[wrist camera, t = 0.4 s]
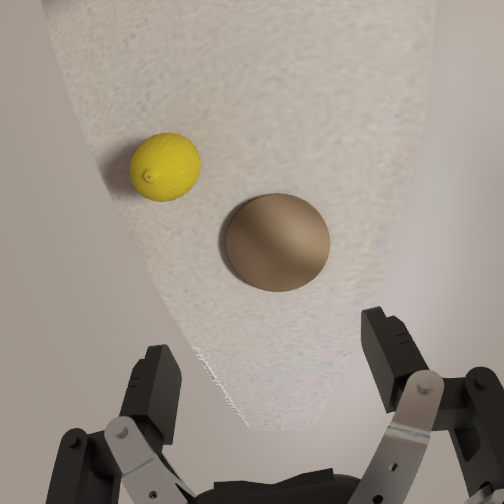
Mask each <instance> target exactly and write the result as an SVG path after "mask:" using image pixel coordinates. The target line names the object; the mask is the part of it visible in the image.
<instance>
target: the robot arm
mask: <svg viewBox="0 0 504 504" xmlns="http://www.w3.org/2000/svg"><path fill="white" fill-rule="evenodd" d="M361 343H362V348H363V351H364V354H365V356H366V359H367V361H368V364H369V367H370V369H371V372H372V374H373V377H374V380H375V383H376V385H377V388H378V390H379V393H380V396H381V399H382V402H383V404H384V407H385V410H386V413H390V412H394V411H395V414H394V416H393V419H392V421H391V423H390V425H389V427H388V428H387V429H386V432H385V433H384V436H383V438H382V440H381V442H380V444H379V446H378V448H377V450H376V452H375V454H374V456H373V458H372V460H371V462H370V464H369V466H368V468H367V470H366V472H365V474H364V475H363V477H362V479H359V478H356V477H353V476H349V475H341V474H333V469H332V468H329V469H325V470H319V471H314V472H309V473H303V474H300V475H297V476H295V477H292V478H290V479H287V480H284V481H281V482H279V483H276V484H263V483H255V482H248V481H227V482H214V489H211V490H208V491H205V492H203V493H201V494H199V495H198V496H196V495H195V494H194V492H193V491H191V489H190V488H189V487H188V486H187V485H186V484H185V483H184V481H183V480H182V479H181V477H180V476H179V475H178V473H177V472H176V471H175V469H174V468H173V466H172V465H171V464H170V462H169V461H168V459H167V458H166V456H165V455H164V454H163V452H162V448H163V445H172V443H173V436H174V429H175V421H176V415H177V408H178V401H179V395H180V388H181V381H182V377H181V371H180V368H179V366H178V364H177V362H176V361H175V358H174V357H173V355H172V353H171V351H170V349H169V347H168V346H167V345H165V344H164V345H156V346H149V347H148V349H147V352H146V355H145V359H140V360H139V361H138V362H137V364H136V365H135V366H134V368H133V370H132V373H131V376H130V380H129V383H128V388H127V390H126V394H125V397H124V401H123V404H122V407H121V411H120V415H119V417H117V418H115V419H113V420H111V421H110V422H109V424H108V425H107V426H106V428H105V430H103V431H100V432H96V433H92V434H87V433H86V432H85V431H83V430H82V429H80V428H74V429H71V430H69V431H67V432H66V433H65V435H64V436H63V437H62V439H61V443H60V446H59V450H58V453H57V457H56V461H55V465H54V469H53V473H52V477H51V482H50V486H49V490H48V495H47V500H46V504H118V499H119V491H120V483H121V480H122V483H123V484H124V486H125V488H126V490H127V492H128V494H129V495H130V497H131V499H132V500H133V502H134V504H403V502H404V500H405V498H406V496H407V494H408V492H409V489H410V487H411V485H412V483H413V480H414V478H415V476H416V473H417V471H418V469H419V466H420V464H421V461H422V459H423V456H424V454H425V451H426V448H427V445H428V443H429V439H430V437H429V436H430V433H431V431H441V430H448V431H449V434H450V437H451V439H452V442H453V445H454V448H455V451H456V454H457V457H458V460H459V464H460V467H461V470H462V473H463V476H464V480H465V483H466V486H467V490H468V494H469V499H468V500H467V501H466V502H465V503H464V504H504V389H503V387H502V385H501V383H500V381H499V379H498V378H497V376H496V374H495V373H494V372H493V371H492V370H491V369H489V368H486V367H476V368H473V369H471V370H470V371H469V372H468V373H467V375H466V377H462V378H442V377H441V376H440V375H439V374H437V373H436V372H434V371H431V370H429V368H428V366H427V364H426V362H425V361H424V359H423V357H422V355H421V353H420V351H419V350H418V348H417V346H416V344H415V342H414V341H413V339H412V337H411V335H410V334H409V332H408V330H407V328H406V326H405V324H404V323H403V322H402V321H401V320H399V319H398V318H397V317H395V316H390V317H386V316H385V314H384V312H383V310H382V308H381V307H380V306H378V307H374V308H370V309H366V310H362V313H361ZM121 475H123V476H121Z"/></svg>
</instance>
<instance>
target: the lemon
mask: <svg viewBox="0 0 504 504" xmlns="http://www.w3.org/2000/svg"><path fill="white" fill-rule="evenodd" d="M200 168H201V161H200V156H199V153H198V150H197V149H196V147H195V146H194V144H193V143H192V142H191V141H190V140H189V139H187V138H185V137H184V136H182V135H179V134H175V133H161V134H158V135H155V136H152V137H150V138H149V139H147V140H146V141H144V142H143V143H142V144H141V145H140V146H139V147H138V148H137V150H136V151H135V153H134V155H133V157H132V160H131V164H130V177H131V181H132V183H133V185H134V187H135V188H136V190H137V191H138V192H139V193H140V194H141V195H143V196H144V197H145V198H148V199H150V200H153V201H159V202H164V201H171V200H174V199H177V198H179V197H181V196H183V195H184V194H186V193H187V192H188V191H189V190H190V189H191V188H192V187H193V186H194V184H195V183H196V181H197V179H198V177H199V174H200Z"/></svg>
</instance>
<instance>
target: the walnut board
mask: <svg viewBox="0 0 504 504" xmlns="http://www.w3.org/2000/svg"><path fill="white" fill-rule="evenodd" d="M329 250H330V237H329V232H328V229H327V226H326V224H325V222H324V220H323V218H322V216H321V215H320V213H319V212H318V211H317V210H316V209H315V208H314V207H313V206H312V205H311V204H309V203H308V202H306V201H305V200H302V199H300V198H298V197H295V196H292V195H287V194H268V195H264V196H261V197H258V198H255V199H253V200H251V201H250V202H248V203H247V204H245V205H244V206H243V207H242V208H241V209H240V210H239V211H238V212H237V213H236V214H235V216H234V217H233V219H232V221H231V223H230V225H229V228H228V231H227V235H226V254H227V257H228V260H229V262H230V265H231V266H232V268H233V270H234V271H235V272H236V273H237V275H238V276H239V277H240V278H241V279H243V280H244V281H245V282H247V283H248V284H250V285H252V286H254V287H256V288H258V289H262V290H265V291H271V292H284V291H290V290H294V289H297V288H299V287H302V286H304V285H305V284H307V283H309V282H310V281H311V280H313V279H314V278H315V277H316V276H317V275H318V274H319V273H320V271H321V270H322V269H323V267H324V265H325V263H326V261H327V259H328V255H329Z"/></svg>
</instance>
